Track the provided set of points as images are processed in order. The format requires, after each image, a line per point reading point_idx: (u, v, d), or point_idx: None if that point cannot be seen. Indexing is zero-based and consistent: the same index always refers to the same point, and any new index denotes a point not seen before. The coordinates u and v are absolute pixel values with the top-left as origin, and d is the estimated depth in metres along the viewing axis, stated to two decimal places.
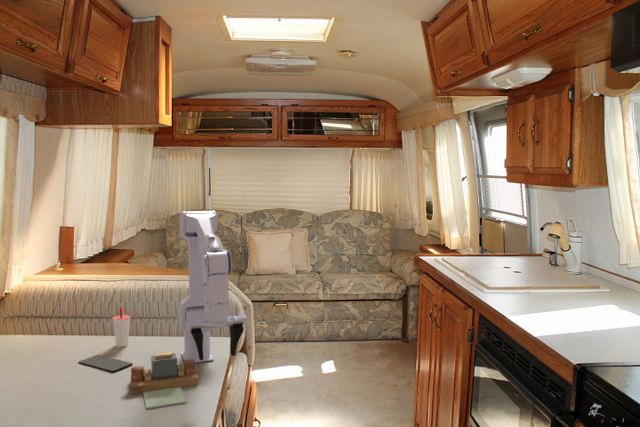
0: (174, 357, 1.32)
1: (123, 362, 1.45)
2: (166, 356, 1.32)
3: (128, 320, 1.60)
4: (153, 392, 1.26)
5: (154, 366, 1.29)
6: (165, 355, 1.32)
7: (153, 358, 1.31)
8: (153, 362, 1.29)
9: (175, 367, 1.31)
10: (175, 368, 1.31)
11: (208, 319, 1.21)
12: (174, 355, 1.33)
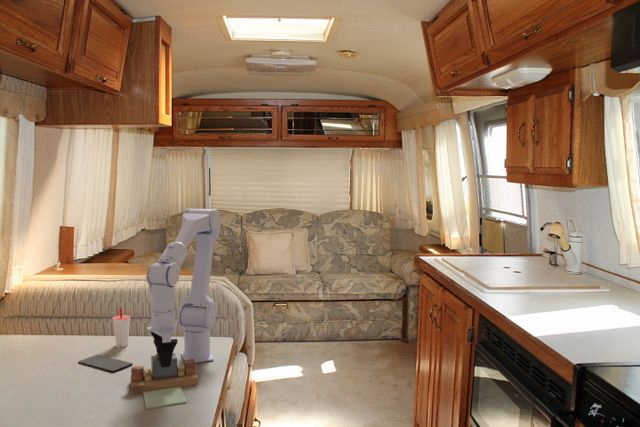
0: (174, 357, 1.32)
1: (123, 362, 1.45)
2: None
3: (128, 320, 1.60)
4: (153, 392, 1.26)
5: (154, 366, 1.29)
6: None
7: (153, 358, 1.31)
8: (153, 362, 1.29)
9: (175, 367, 1.31)
10: (175, 368, 1.31)
11: None
12: (174, 355, 1.33)
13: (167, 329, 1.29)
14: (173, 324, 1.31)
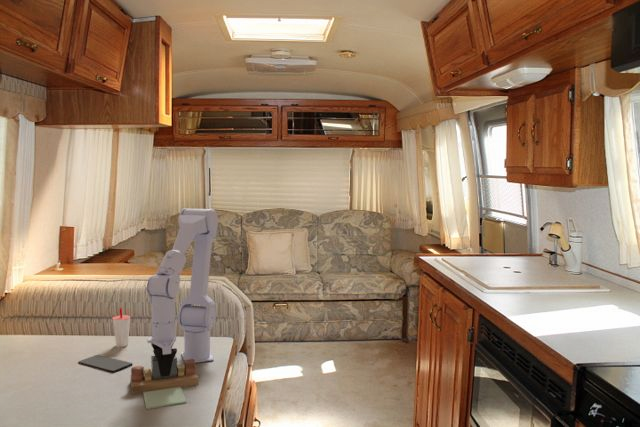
0: (174, 357, 1.32)
1: (123, 362, 1.45)
2: None
3: (128, 320, 1.60)
4: (153, 392, 1.26)
5: (154, 366, 1.29)
6: None
7: (153, 358, 1.31)
8: (153, 362, 1.29)
9: (175, 367, 1.31)
10: (175, 368, 1.31)
11: None
12: None
13: (167, 340, 1.29)
14: (173, 335, 1.31)
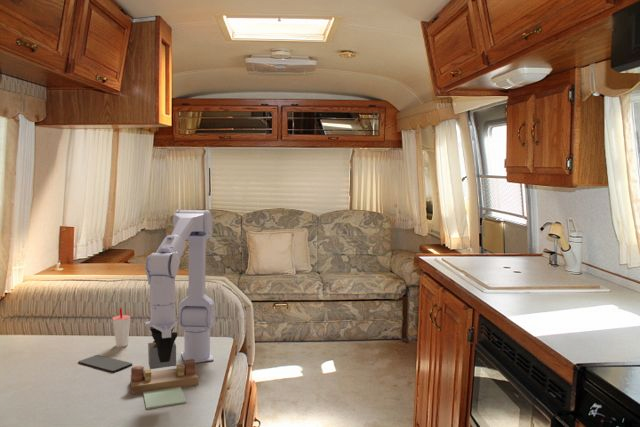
0: (173, 344, 1.22)
1: (123, 362, 1.45)
2: None
3: (128, 320, 1.60)
4: (153, 392, 1.26)
5: (151, 354, 1.20)
6: None
7: (150, 345, 1.22)
8: (150, 349, 1.20)
9: (174, 355, 1.22)
10: (174, 356, 1.22)
11: None
12: None
13: (167, 323, 1.20)
14: (173, 318, 1.22)
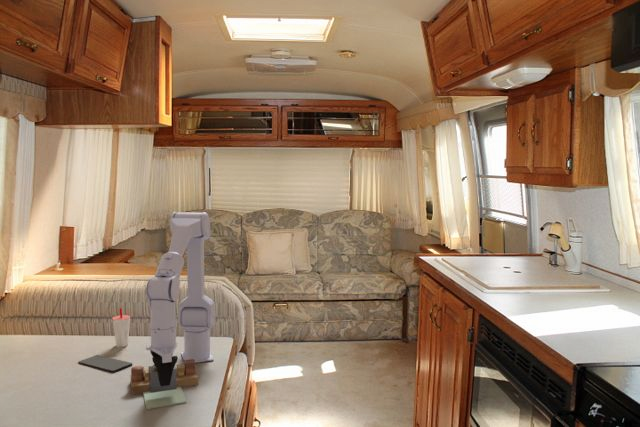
0: None
1: (123, 362, 1.45)
2: None
3: (128, 320, 1.60)
4: None
5: (152, 377, 1.20)
6: None
7: (151, 369, 1.22)
8: (151, 373, 1.20)
9: (174, 378, 1.22)
10: (174, 379, 1.22)
11: None
12: None
13: (167, 347, 1.20)
14: (174, 342, 1.22)
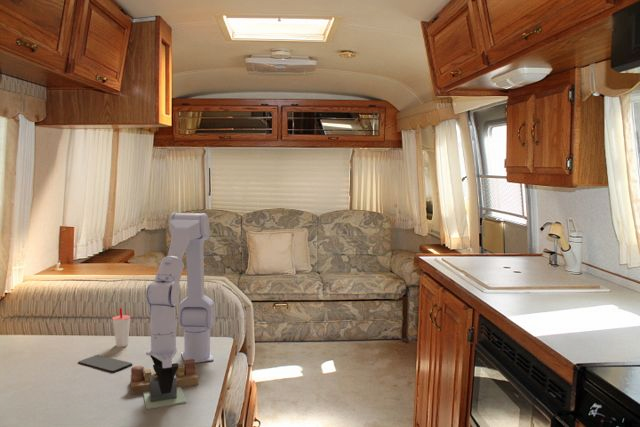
0: None
1: (123, 362, 1.45)
2: None
3: (128, 320, 1.60)
4: None
5: (152, 387, 1.21)
6: None
7: (151, 378, 1.22)
8: (151, 383, 1.20)
9: (174, 388, 1.23)
10: (174, 389, 1.23)
11: None
12: None
13: (167, 353, 1.21)
14: (174, 347, 1.22)
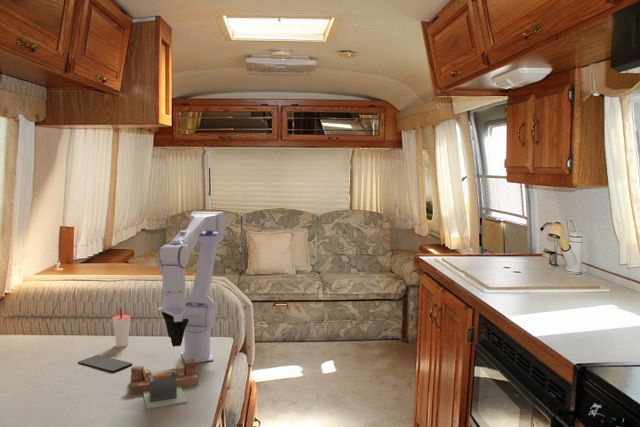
0: (173, 377, 1.23)
1: (123, 362, 1.45)
2: (165, 376, 1.23)
3: (128, 320, 1.60)
4: None
5: (152, 387, 1.21)
6: (164, 375, 1.23)
7: (151, 378, 1.22)
8: (151, 383, 1.20)
9: (174, 388, 1.23)
10: (174, 389, 1.23)
11: None
12: (173, 374, 1.24)
13: (178, 309, 1.32)
14: (184, 304, 1.33)
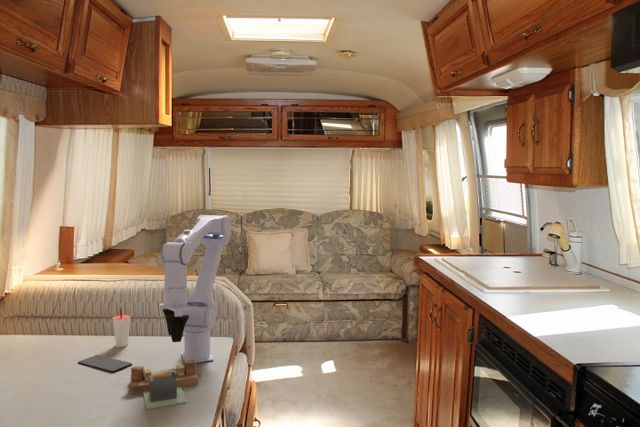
0: (173, 377, 1.23)
1: (123, 362, 1.45)
2: (165, 376, 1.23)
3: (128, 320, 1.60)
4: None
5: (152, 387, 1.21)
6: (164, 375, 1.23)
7: (151, 378, 1.22)
8: (151, 383, 1.20)
9: (174, 388, 1.23)
10: (174, 389, 1.23)
11: None
12: (173, 374, 1.24)
13: (179, 305, 1.34)
14: (185, 301, 1.36)
